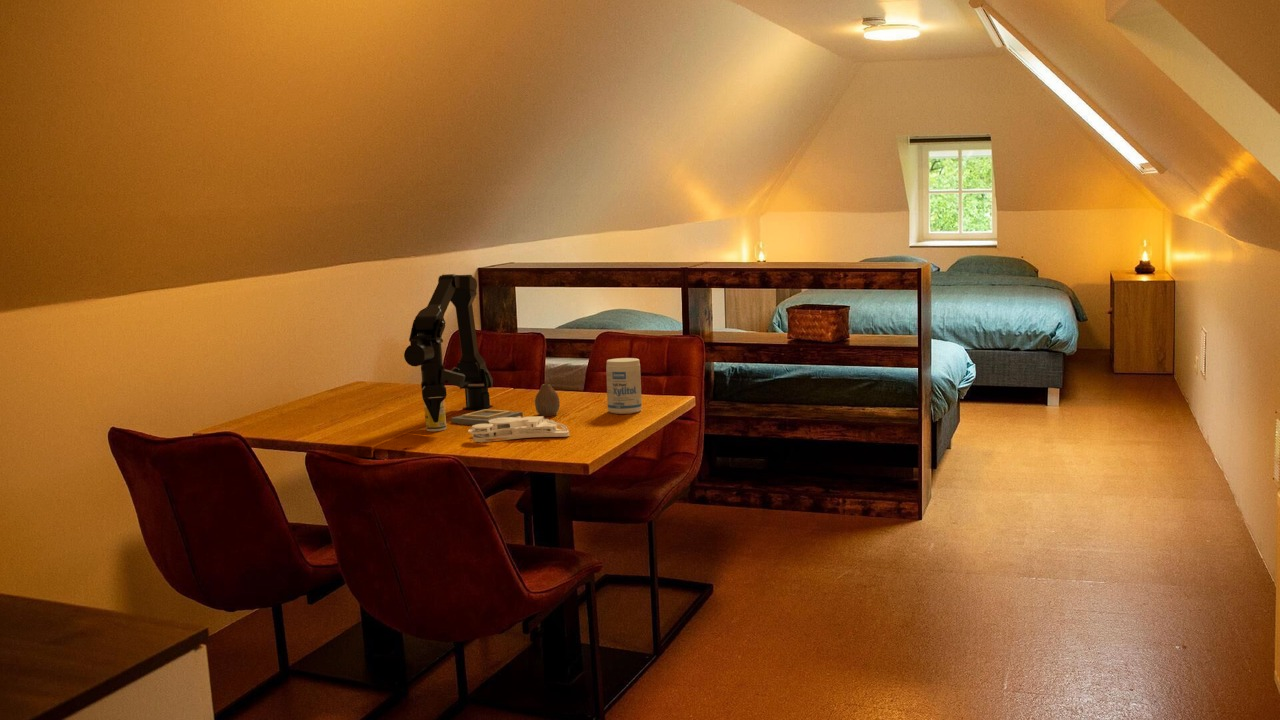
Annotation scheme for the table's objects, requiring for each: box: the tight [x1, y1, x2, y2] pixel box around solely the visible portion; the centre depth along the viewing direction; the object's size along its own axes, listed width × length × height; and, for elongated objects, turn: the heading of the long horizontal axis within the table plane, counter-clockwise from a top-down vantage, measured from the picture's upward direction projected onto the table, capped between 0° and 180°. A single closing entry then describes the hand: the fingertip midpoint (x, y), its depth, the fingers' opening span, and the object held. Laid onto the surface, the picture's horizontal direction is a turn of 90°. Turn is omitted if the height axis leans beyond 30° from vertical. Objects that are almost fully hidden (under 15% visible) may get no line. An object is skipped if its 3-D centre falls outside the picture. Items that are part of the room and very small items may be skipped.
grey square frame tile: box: [450, 408, 524, 426], centre depth 308 cm, size 14×14×2 cm
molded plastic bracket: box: [467, 415, 570, 443], centre depth 288 cm, size 23×25×4 cm
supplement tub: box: [605, 357, 643, 415], centre depth 310 cm, size 10×10×15 cm
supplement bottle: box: [423, 400, 447, 433], centre depth 296 cm, size 5×5×10 cm
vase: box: [534, 383, 561, 417], centre depth 311 cm, size 7×7×9 cm
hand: (435, 419), depth 296 cm, fingers open, 9 cm apart
